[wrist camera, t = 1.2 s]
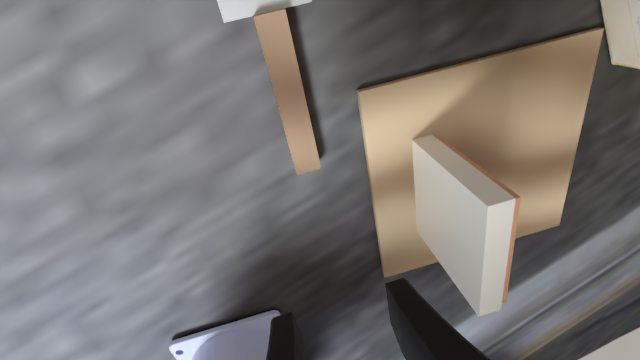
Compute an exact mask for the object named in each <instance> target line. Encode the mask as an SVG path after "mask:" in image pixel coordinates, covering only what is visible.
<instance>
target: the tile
mask: <svg viewBox="0 0 640 360" xmlns="http://www.w3.org/2000/svg"><path fill="white" fill-rule="evenodd" d="M412 152H413V169H414V186H415V203H416V220H417V232H418V233H419V235H420V236H421V238H422V239H423V240H424V242H425V243H426V245H427V246H428V247H429V249H430V250H431V251H432V253H433V254H434V256H435V257H436V258H437V260H438V261H439V263H440V264H441V265H442V267H443V268H444V269H445V271H446V272H447V274H448V275H449V276H450V278H451V279H452V280H453V282H454V283H455V285H456V286H457V287H458V289H459V290H460V292H461V293H462V294H463V296H464V297H465V298H466V300H467V301H468V303H469V304H470V305H471V307H472V308H473V310H474V311H475V312H476V314H477V315H478V316H479V317H481V316H484V315H487V314H490V313H493V312H496V311H499V310H501V306H502V303H504V302H506V298H507V291H508V284H509V277H510V270H511V263H512V256H513V249H514V242H515V235H516V228H517V221H518V214H519V207H520V200H521V197H520V196H519V195H517V194H516V193H515V192H513V191H512V190H511V189H509V188H508V187H507V186H505V185H504V184H503V183H501V182H500V181H498V180H497V179H496V178H494V177H493V176H492V175H490V174H489V173H488V172H486V171H485V170H484V169H482V168H481V167H480V166H478V165H477V164H476V163H474V162H473V161H471V160H470V159H469V158H467V157H466V156H465V155H463V154H462V153H461V152H459V151H458V150H457V149H455V148H454V147H453V146H451V145H450V144H449V143H447V142H446V141H445V140H443V139H442V138H440V137H437V138H436V137H434V136H433V135H432V134H430V135H427V136H423V137H420V138H416V139H412Z"/></svg>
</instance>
